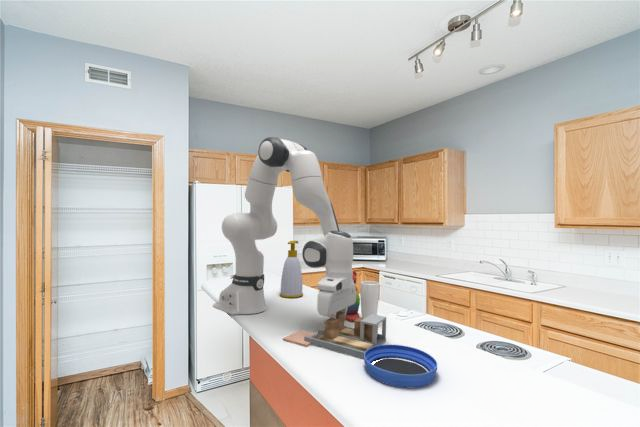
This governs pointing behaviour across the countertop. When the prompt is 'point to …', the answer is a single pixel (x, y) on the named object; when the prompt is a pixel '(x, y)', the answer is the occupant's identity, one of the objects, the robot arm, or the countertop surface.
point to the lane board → (368, 320)
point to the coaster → (299, 338)
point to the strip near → (333, 336)
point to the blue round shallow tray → (400, 365)
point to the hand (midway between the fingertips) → (337, 323)
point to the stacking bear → (353, 306)
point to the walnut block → (367, 329)
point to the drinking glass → (369, 298)
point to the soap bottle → (291, 275)
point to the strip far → (345, 330)
